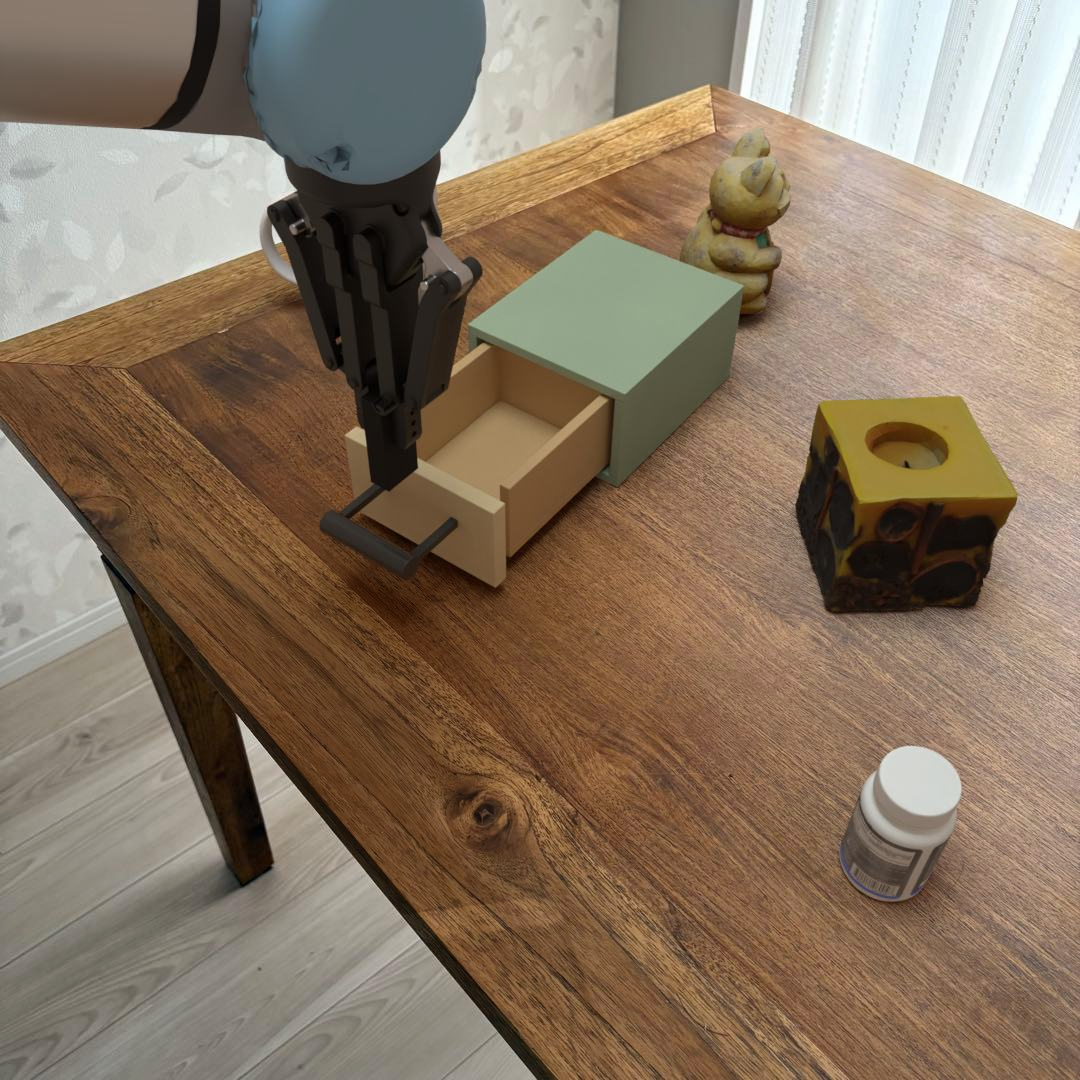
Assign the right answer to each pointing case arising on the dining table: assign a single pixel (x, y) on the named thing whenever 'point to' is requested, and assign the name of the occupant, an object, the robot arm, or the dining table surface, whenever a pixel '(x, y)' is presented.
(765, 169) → the decorative figurine
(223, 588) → the dining table surface
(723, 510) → the dining table surface
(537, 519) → the drawer
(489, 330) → the cabinet
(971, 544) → the candle
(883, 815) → the pill bottle
